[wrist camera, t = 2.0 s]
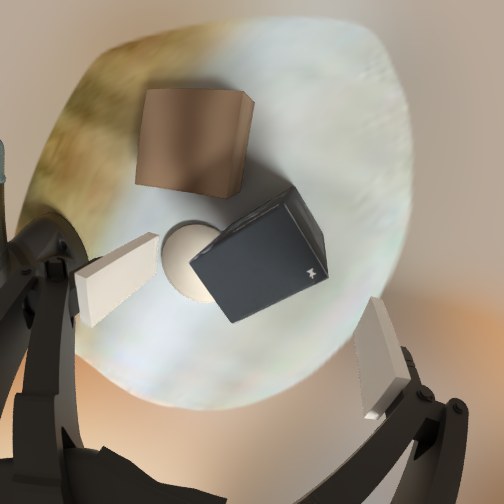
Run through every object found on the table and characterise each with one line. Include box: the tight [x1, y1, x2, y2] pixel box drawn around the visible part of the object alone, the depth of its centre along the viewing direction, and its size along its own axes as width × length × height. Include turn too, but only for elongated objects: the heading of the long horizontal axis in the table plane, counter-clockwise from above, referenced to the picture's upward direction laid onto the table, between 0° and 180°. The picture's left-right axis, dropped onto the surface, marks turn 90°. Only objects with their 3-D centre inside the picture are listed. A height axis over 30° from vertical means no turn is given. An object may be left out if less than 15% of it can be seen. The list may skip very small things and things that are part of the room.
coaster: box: [162, 224, 221, 303], centre depth 30 cm, size 9×9×1 cm
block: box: [135, 89, 255, 199], centre depth 23 cm, size 9×9×5 cm
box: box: [189, 186, 329, 324], centre depth 22 cm, size 8×6×11 cm
